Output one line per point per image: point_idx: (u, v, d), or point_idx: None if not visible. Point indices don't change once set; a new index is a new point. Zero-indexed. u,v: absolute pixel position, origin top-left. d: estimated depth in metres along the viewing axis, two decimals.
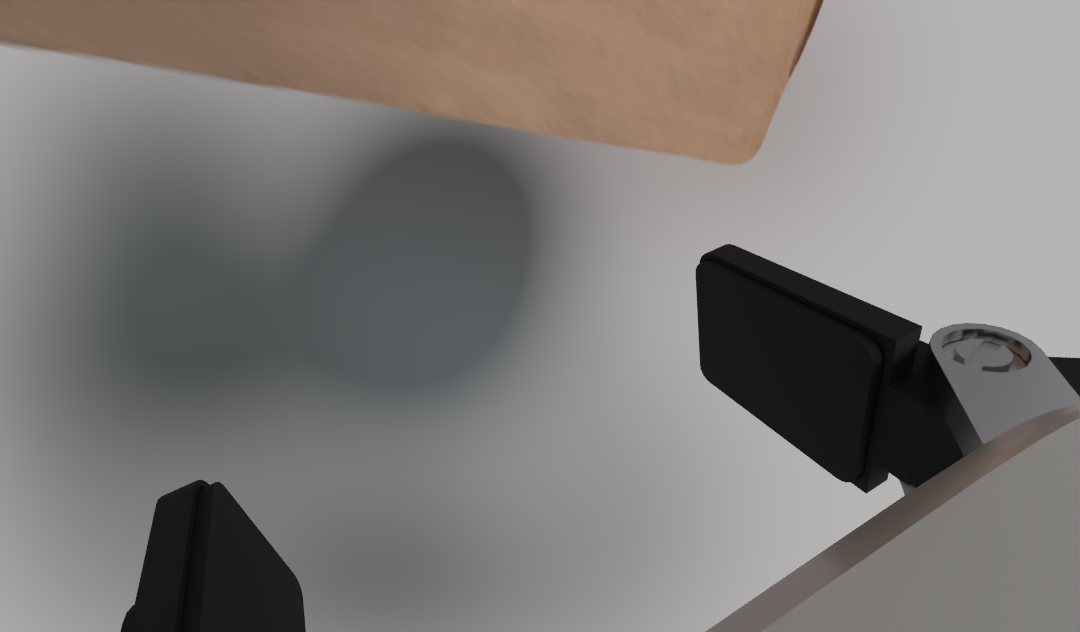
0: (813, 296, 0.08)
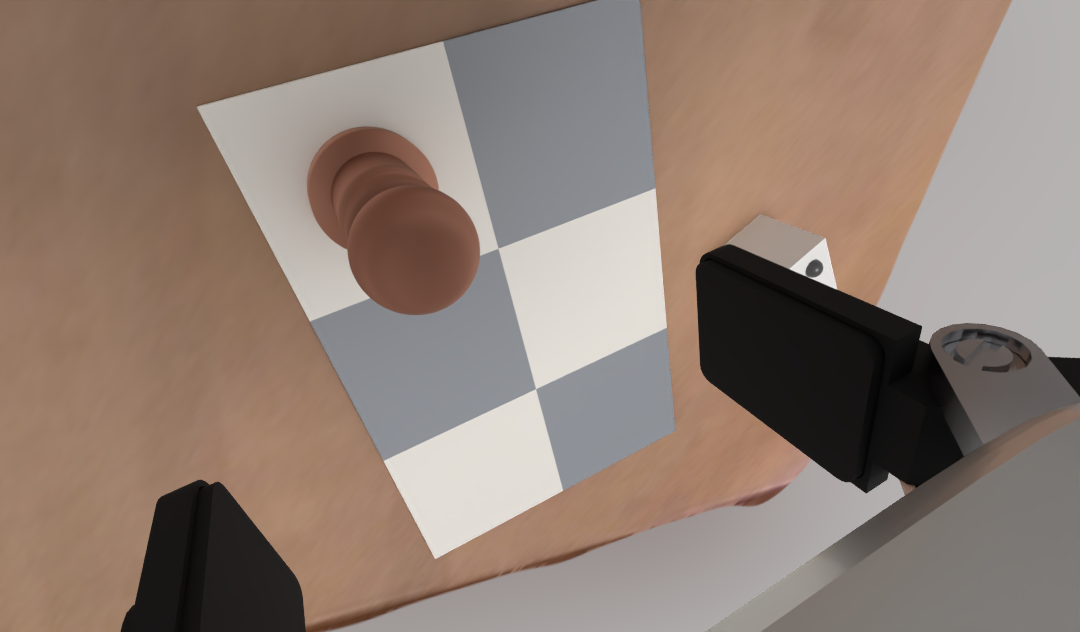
0: (813, 296, 0.08)
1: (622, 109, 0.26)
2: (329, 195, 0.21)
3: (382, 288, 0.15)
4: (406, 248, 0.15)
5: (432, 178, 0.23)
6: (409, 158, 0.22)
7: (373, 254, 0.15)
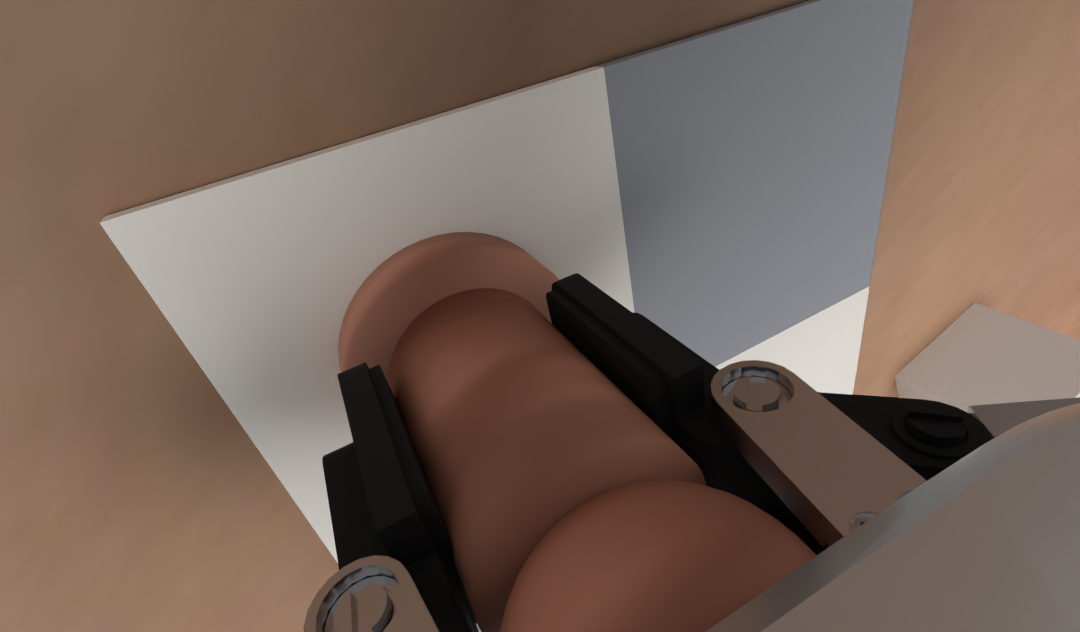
0: (625, 330, 0.09)
1: (853, 172, 0.16)
2: (385, 377, 0.11)
3: None
4: None
5: None
6: (537, 293, 0.11)
7: None
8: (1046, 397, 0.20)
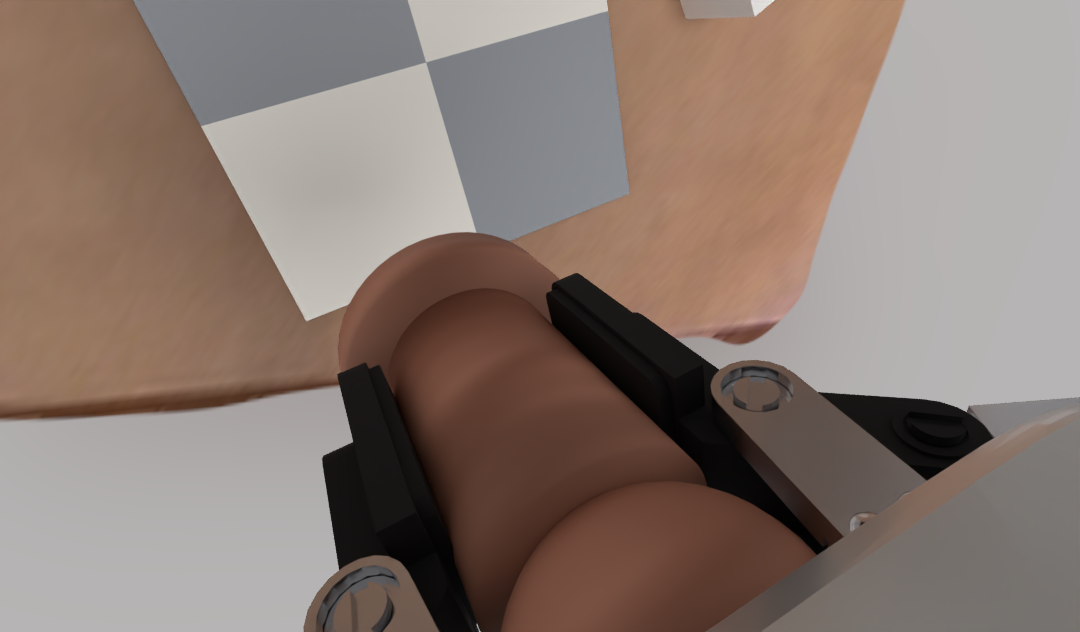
0: (625, 330, 0.09)
1: None
2: (385, 377, 0.11)
3: None
4: None
5: None
6: (537, 293, 0.11)
7: None
8: None
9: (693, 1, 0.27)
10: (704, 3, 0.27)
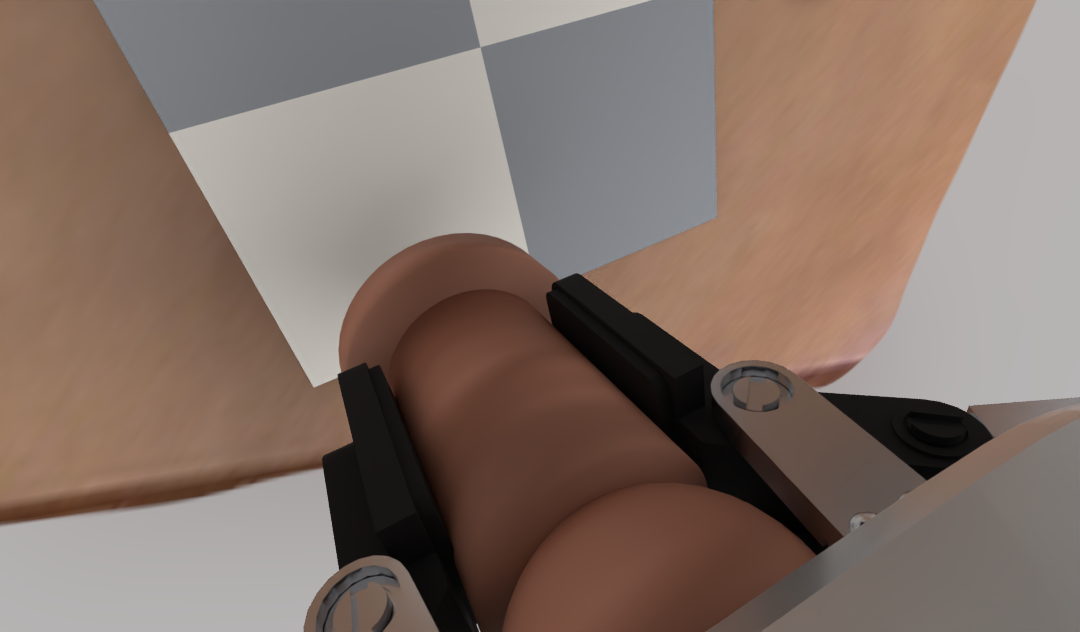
0: (625, 330, 0.09)
1: None
2: None
3: None
4: None
5: None
6: (537, 294, 0.11)
7: None
8: None
9: None
10: None
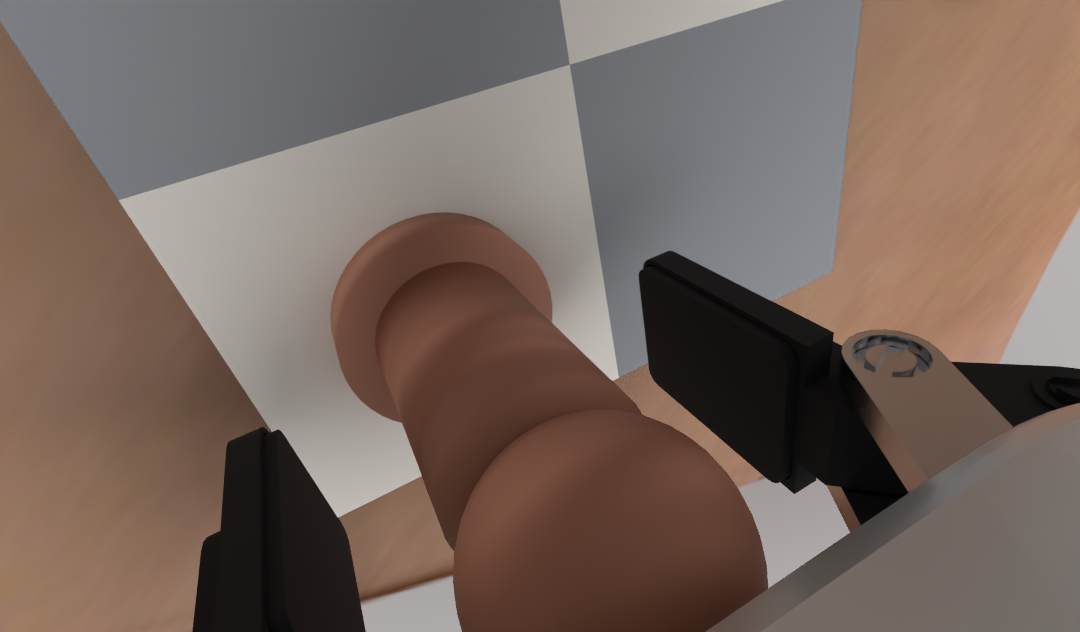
0: (739, 302, 0.09)
1: None
2: (372, 341, 0.12)
3: None
4: None
5: (544, 296, 0.13)
6: (510, 267, 0.12)
7: None
8: None
9: None
10: None
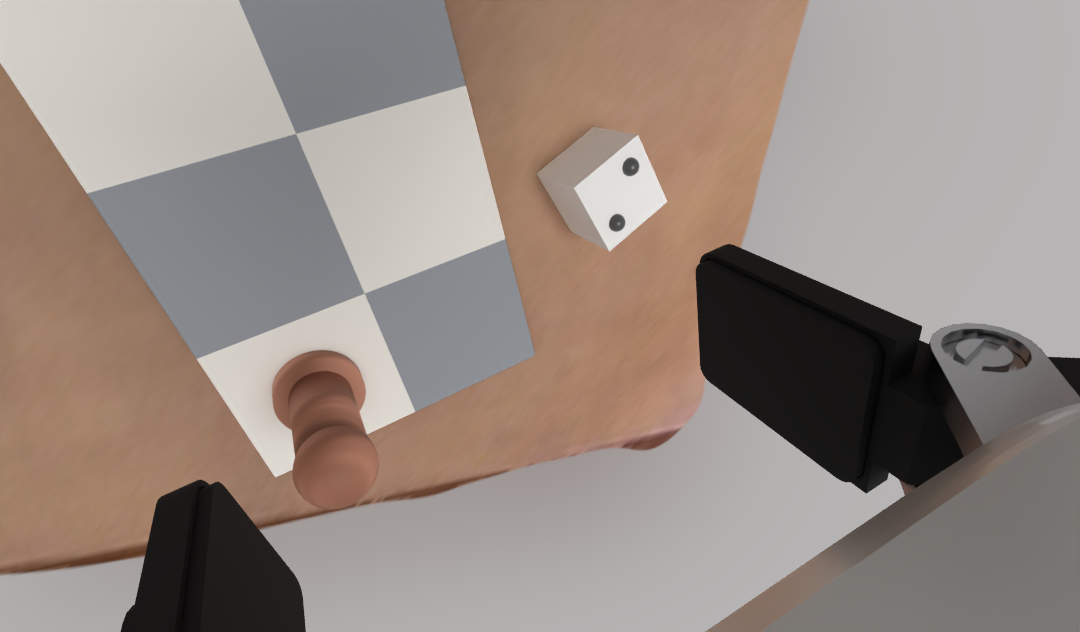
0: (813, 296, 0.08)
1: None
2: (287, 402, 0.31)
3: (313, 501, 0.25)
4: (325, 480, 0.24)
5: (360, 380, 0.33)
6: (342, 371, 0.32)
7: (306, 483, 0.25)
8: (596, 163, 0.31)
9: (572, 225, 0.36)
10: (579, 229, 0.35)
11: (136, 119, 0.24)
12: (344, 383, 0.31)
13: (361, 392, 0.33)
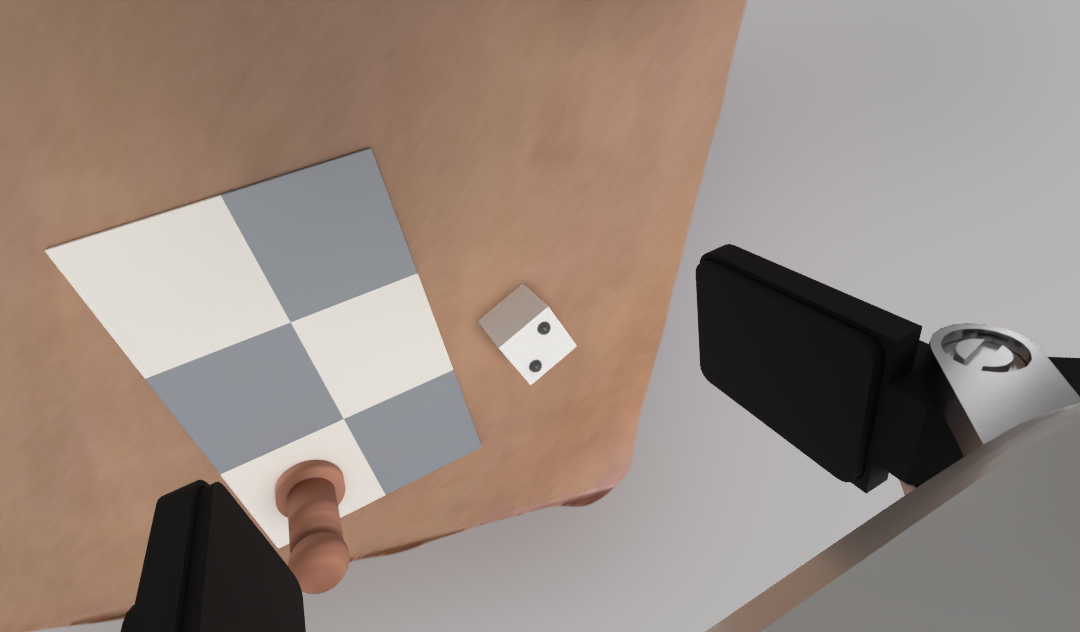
0: (813, 296, 0.08)
1: (375, 223, 0.37)
2: (286, 500, 0.42)
3: (301, 589, 0.36)
4: (310, 577, 0.35)
5: (340, 481, 0.44)
6: (327, 476, 0.43)
7: (297, 579, 0.36)
8: (516, 327, 0.41)
9: None
10: None
11: (178, 329, 0.35)
12: (328, 487, 0.42)
13: (342, 489, 0.44)
